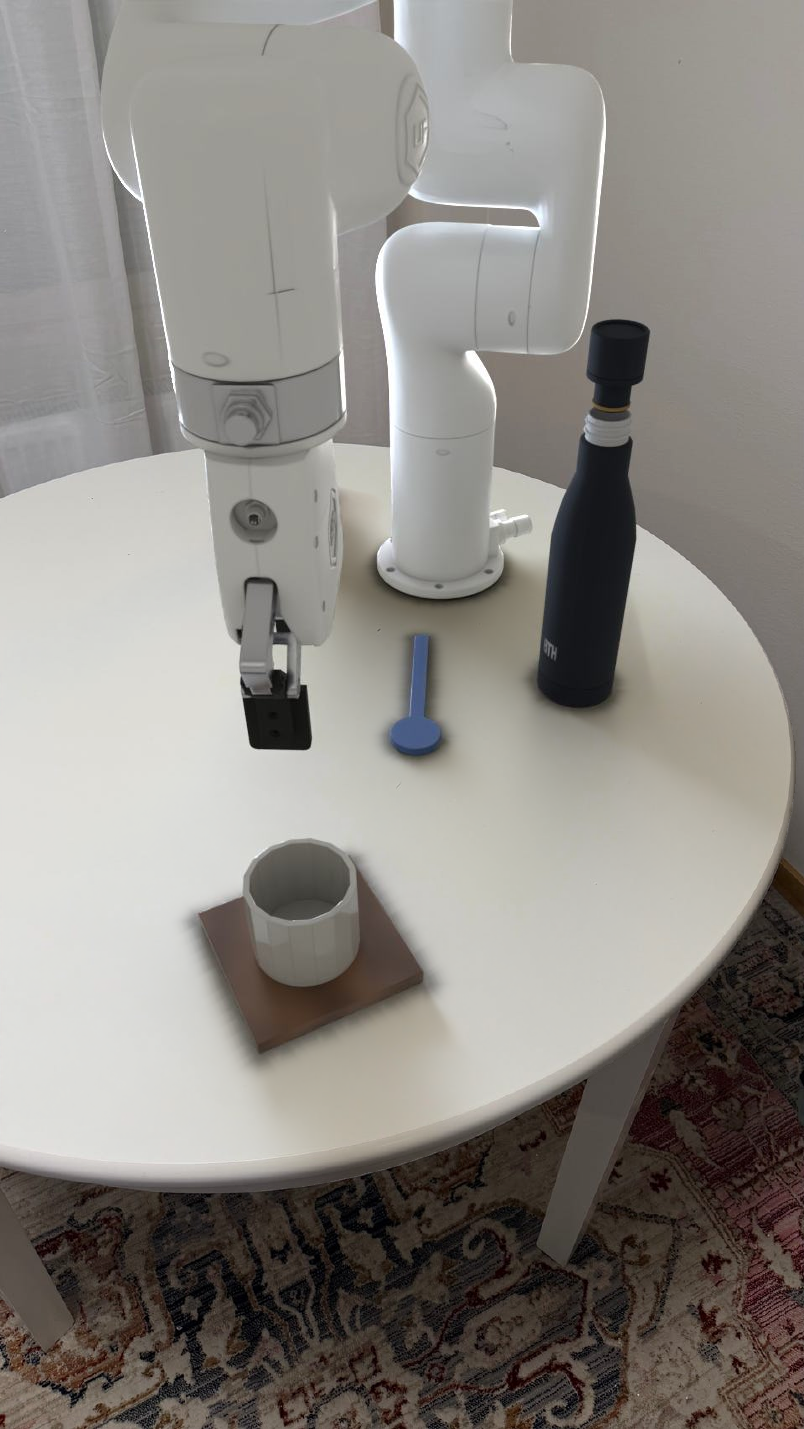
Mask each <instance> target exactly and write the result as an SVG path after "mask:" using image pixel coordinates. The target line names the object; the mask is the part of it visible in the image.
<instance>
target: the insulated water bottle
mask: <svg viewBox="0 0 804 1429" xmlns="http://www.w3.org/2000/svg"><path fill="white" fill-rule="evenodd" d="M650 336H651V330H650V328H649V326H647V325H645V324H644V323H641V322H639V321H636V320H630V319H623V318H617V319H616V318H614V319H613V318H611V319H604V320H600V321H597V322H596V323H594V324H592V327H591V329H590V336H589V345H588V353H587V354H588V355H587V363H586V371H585V376H586V379H588V380H589V381H590V382H592V383H594V390H593V391H594V392H593V396H592V399H591V405H592V406H591V407H590V408H589V409H588V411H587V415H585V417H584V423H585V425H584V427H583V433H582V434H581V435H580V436H579V443H578V451H577V459H576V467H575V468H576V469H575V472H574V474H573V476H572V478H571V481H570V482H569V484H568V486H567V488H566V490H565V491H564V492H565V493H564V494H563V497H562V499H561V502H560V504H559V507H558V511H557V513H556V517H555V520H554V523H553V527H552V530H551V533H550V544H549V552H548V565H547V574H546V584H545V595H544V603H543V604H544V605H543V614H542V623H541V624H542V625H541V634H540V643H539V653H538V663H537V664H538V665H537V672H536V674H537V675H536V683H537V688H538V689H539V691H540V692H541V693H542V695H543V696H544V697H546V698H547V699H548V700H550V701H551V702H553V703H555V704H558V705H561V706H566V707H571V708H588V707H592V706H596V705H599V704H600V703H602V702H604V701H606V700H607V699H608V697H609V696H610V695H611V694H612V692H613V687H614V679H615V674H616V668H617V661H618V656H619V649H620V644H621V638H622V630H623V624H624V619H625V612H626V606H627V601H628V594H629V588H630V583H631V582H630V581H631V575H632V571H633V570H632V569H633V564H634V563H633V562H634V556H635V552H636V545H637V538H638V537H637V516H636V515H637V514H636V506H635V501H634V496H633V491H632V487H631V486H632V485H631V482H630V476H629V472H630V466H631V458H632V452H633V445H634V440H633V438H632V436H631V435H632V432H633V430H632V426H633V423H634V421H633V418H632V411H630V410H629V409H630V407H631V404H632V401H631V397H632V389H633V386H636V385H638V384H640V383H641V382H643V380H644V376H645V369H646V363H647V356H648V350H649V343H650Z"/></svg>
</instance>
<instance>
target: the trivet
mask: <svg viewBox="0 0 804 1429" xmlns="http://www.w3.org/2000/svg"><path fill="white" fill-rule="evenodd" d="M347 855H348V857H349V858H350V860H351V861H352V863H353V864H354V866H355V868H356V879H357V896H358V913H359V930H360V945H359V950H358V953H357V955H356V957H355V959H354V961H353V962H352V964H351V965H350V966H349V967H348V968H347V969H346V970H345V971H344V972H343V973H342V974H341V975H339V976H338V977H336V978H334V979H332V980H330V981H328V982H326V983H323V984H319V985H315V986H308V987H297V986H290V985H286V984H283V983H280V982H278V981H276V980H274V979H272V978H271V977H269V976H268V975H267V974H266V973H265V972H264V971H263V970H262V969H261V968H260V966H259V965H258V963H257V961H256V958H255V955H254V952H253V950H252V944H251V939H250V933H249V927H248V921H247V915H246V910H245V904H244V898H243V895H240V896H237V897H236V898H233V899H230V900H228V901H225V902H222V903H220V904H217V905H214V906H212V907H210V908H206V909H204V910H201V911H199V912H198V913H197V915H198V919H199V923H200V925H201V928H202V929H203V932H204V934H205V937H206V939H207V940H208V943H209V945H210V947H211V950H212V952H213V954H214V957H215V958H216V961H217V963H218V965H219V967H220V970H221V972H222V975H223V977H224V979H225V981H226V983H227V985H228V988H229V990H230V993H231V995H232V997H233V999H234V1001H235V1003H236V1006H237V1008H238V1011H239V1012H240V1014H241V1017H242V1019H243V1021H244V1024H245V1026H246V1028H247V1030H248V1033H249V1035H250V1037H251V1040H252V1042H253V1044H254V1046H255V1049H256V1050H257V1052H258V1054H260V1055H261V1054H263V1053H265V1052H268V1051H270V1050H272V1049H274V1048H276V1047H278V1046H281V1045H284V1044H285V1043H288V1042H290V1041H292V1040H295V1039H297V1038H299V1037H301V1036H303V1035H305V1034H308V1033H311V1032H312V1031H315V1030H317V1029H319V1028H321V1027H324V1026H326V1025H328V1024H330V1023H333V1022H335V1021H338V1020H340V1019H342V1018H344V1017H346V1016H348V1015H351V1014H353V1013H356V1012H358V1011H360V1010H362V1009H364V1008H366V1007H368V1006H371V1005H374V1004H376V1003H378V1002H380V1001H382V1000H384V999H387V998H389V997H392V996H395V995H396V994H398V993H400V992H403V991H406V990H407V989H409V988H412V987H414V986H416V985H419V984H421V983H423V982H424V971H423V969H422V967H421V966H420V964H419V963H418V960H416V958H415V956H414V954H413V953H412V951H411V950H410V948H409V947H408V945H407V944H406V942H405V940H404V939H403V937H402V935H401V934H400V932H399V931H398V929H397V928H396V926H395V924H394V923H393V921H392V920H391V918H390V917H389V915H388V914H387V911H386V910H385V909H384V907H383V905H382V904H381V902H380V901H379V899H378V898H377V896H376V894H375V893H374V891H373V889H372V887H370V885H369V883H368V882H367V881H366V879H365V877H364V875H363V873H362V872H361V870H360V869H359V867H358V866H357V863H355V861H354V860H353V857H352V856H351V855H350V854H347Z"/></svg>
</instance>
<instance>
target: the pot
mask: <svg viewBox="0 0 804 1429" xmlns="http://www.w3.org/2000/svg"><path fill="white" fill-rule="evenodd" d="M348 855H349V854H347V852H345V851H344V850H343V849H341V848H339V847H338V846H336V845H335V844H333V843H332V842H329V841H325V840H320V839H316V838H311V837H306V838H291V839H290V838H289V839H286V840H284V841H281V842H278V843H275V844H272V845H270V846H268V847H267V848H265V849H264V850H262V852H260V853H259V854H257V856H255V857H254V858H252V860H251V862H250V863H249V865H248V867H247V869H246V870H245V872H244V874H243V876H242V877H243V878H242V896H243V898H244V904H245V910H246V915H247V921H248V927H249V933H250V939H251V944H252V950H253V952H254V955H255V958H256V961H257V963H258V965H259V966H260V968H261V969H262V970H263V971H264V972H265V973H266V974H267V975H268V976H269V977H271V978H272V979H274V980H276V981H278V982H280V983H283V984H286V985H290V986H297V987H308V986H315V985H319V984H323V983H326V982H328V981H330V980H332V979H334V978H336V977H338V976H339V975H341V974H342V973H343V972H344V971H345V970H346V969H347V968H348V967H349V966H350V965H351V964H352V962H353V961H354V959H355V957H356V955H357V953H358V950H359V945H360V930H359V913H358V896H357V879H356V868H355V866H354V864H353V863H352V861H351V860H350V858H349V857H348Z"/></svg>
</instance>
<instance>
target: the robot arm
mask: <svg viewBox="0 0 804 1429" xmlns="http://www.w3.org/2000/svg"><path fill="white" fill-rule="evenodd" d="M377 1H378V0H122V2H121V5H120V8H119V11H118V14H117V17H116V20H115V22H114V26H113V28H112V31H111V34H110V38H109V41H108V46H107V51H106V55H105V59H104V63H103V68H102V76H101V86H100V124H101V132H102V136H103V141H104V145H105V150H106V154H107V156H108V159H109V162H110V164H111V166H112V168H113V170H114V172H115V173H116V175H117V177H118V179H119V180H120V181H121V183H122V185H123V186H124V187H125V188H126V189H127V190H128V191H129V192H130V193H131V194H132V195H133V197H135V198H136V199H137V200H139V201H140V202H142V204H143V210H144V216H145V222H146V228H147V233H148V239H149V240H148V241H149V246H150V250H151V257H152V262H153V269H154V274H155V280H156V286H157V292H158V298H159V303H160V309H161V310H160V311H161V317H162V323H163V328H164V333H165V339H166V346H167V351H168V352H167V353H168V360H169V367H170V371H171V378H172V383H173V389H174V397H175V402H176V407H177V413H178V414H177V415H178V420H179V426H180V427H179V428H180V432H181V433H182V436H183V437H184V438H185V439H186V441H187V442H189V443H190V444H191V445H193V446H194V447H196V448H198V449H200V450H202V451H203V455H204V465H205V478H206V490H207V491H206V499H207V500H208V511H209V521H210V529H211V538H212V546H213V554H214V563H215V570H216V577H217V583H218V585H217V586H218V592H219V596H220V604H221V609H222V615H223V619H224V623H225V628H226V631H227V634H228V636H229V638H230V639H231V640H232V641H233V642H234V643H235V644H237V645H238V646H240V651H239V662H238V669H239V675H240V679H239V686H240V695H241V698H242V705H243V711H244V717H245V718H244V719H245V725H246V730H247V737H248V743H249V746H250V747H251V748H252V749H254V750H263V751H265V750H266V751H267V750H272V751H308V750H309V749H311V748H312V744H313V743H312V742H313V733H312V724H311V722H312V721H311V711H310V700H309V691H308V684H302V683H301V682H302V681H301V679H302V678H301V677H302V675H301V674H302V672H301V671H302V646H313V647H315V648H316V647H320V646H322V645H323V644H324V643H325V642H326V641H327V640H328V639H329V637H330V635H331V633H332V632H331V631H332V628H333V621H334V618H335V612H336V611H335V610H336V605H337V600H338V595H339V594H338V593H339V588H340V581H341V577H342V576H341V575H342V568H343V560H344V536H343V535H344V534H343V525H342V517H341V516H342V515H341V507H340V499H339V497H340V496H339V487H338V477H337V469H336V468H337V466H336V458H335V448H334V439H333V438H335V437H336V436H337V435H338V434H339V433H341V431H342V430H343V429H344V427H345V426H346V423H347V419H348V414H347V411H348V410H347V394H346V393H347V392H346V391H347V389H346V374H345V373H346V372H345V371H346V370H345V353H344V352H345V351H344V338H343V337H344V336H343V318H342V300H341V282H340V281H341V280H340V264H339V263H340V262H339V248H338V247H339V246H338V237H340V236H344V235H345V234H348V233H350V232H354V231H356V230H360V229H362V228H365V227H368V226H370V225H373V224H375V223H378V222H380V221H381V220H383V219H384V218H386V217H387V216H389V215H390V214H391V213H392V212H394V211H395V210H396V209H397V208H398V207H399V206H400V205H401V204H402V202H403V201H404V200H405V199H406V197H407V196H408V195H409V196H411V197H412V198H414V199H416V200H420V201H423V202H427V203H432V204H438V205H446V206H461V207H477V208H479V207H480V208H496V209H497V208H499V209H519V210H527V211H529V212H531V213H532V214H533V215H534V216H535V218H536V219H537V222H538V225H539V227H537V226H536V227H535V226H518V225H517V226H515V225H514V226H513V225H496V224H495V225H493V224H491V223H473V222H472V223H471V222H452V221H451V222H450V221H426V222H420V223H413V224H411V225H407V226H405V227H402V228H400V229H398V230H397V231H395V232H394V233H392V234H391V236H390V237H388V238H387V239H386V241H385V242H384V244H383V246H382V247H381V249H380V251H379V254H378V258H377V262H376V268H375V289H376V297H377V304H378V310H379V314H380V321H381V325H382V330H383V338H384V344H385V351H386V358H387V359H386V360H387V372H388V391H389V393H388V394H389V441H390V442H389V443H390V444H389V449H390V450H389V452H390V499H391V500H390V502H391V503H390V505H391V506H390V507H391V536H390V537H389V538H387V539H386V540H385V541H384V542H383V543H382V544H381V545H380V547H379V549H378V551H377V554H376V565H377V566H376V567H377V568H376V569H377V571H378V574H379V576H380V577H381V579H383V581H384V582H385V583H386V584H388V585H389V586H390V587H392V588H393V589H396V590H398V591H399V592H401V593H403V594H407V595H410V596H414V597H417V598H424V599H431V600H432V599H433V600H450V599H459V598H465V597H468V596H471V595H475V594H478V593H480V592H482V591H485V590H486V589H488V588H489V587H491V586H492V585H493V584H495V583H496V582H497V581H498V580H499V578H500V577H501V576H502V574H503V570H504V560H505V557H504V552H503V550H502V549H501V547H500V546H501V545H504V544H506V542H507V540H509V539H512V538H518V537H522V536H526V535H528V534H531V533H532V531H533V522H532V520H531V518H530V516H528V515H527V514H523V515H519V516H515V517H511V518H509V519H508V514H507V512H506V510H505V509H499V510H495V511H491V510H492V492H493V490H492V489H493V471H494V470H493V469H494V454H495V453H494V452H495V451H494V450H495V431H496V417H497V396H496V392H495V387H494V384H493V381H492V379H491V377H490V374H489V373H488V371H487V369H486V367H485V366H484V364H483V362H482V361H481V359H480V357H479V356H478V354H477V353H476V352H481V351H482V352H483V351H484V352H495V353H497V352H498V353H507V354H508V353H509V354H525V355H547V356H548V355H549V356H551V355H558V354H562V353H565V352H567V351H569V350H571V349H572V348H573V347H574V346H575V345H576V344H577V342H578V341H579V340H580V338H581V336H582V333H583V331H584V328H585V324H586V320H587V316H588V311H589V305H590V298H591V289H592V281H593V269H594V262H595V261H594V259H595V250H596V240H597V230H598V221H599V211H600V202H601V201H600V200H601V190H602V183H603V182H602V181H603V171H604V162H605V161H604V160H605V146H606V145H605V144H606V125H607V124H606V122H607V121H606V120H607V119H606V106H605V100H604V97H603V96H604V95H603V91H602V88H601V86H600V84H599V82H598V80H597V79H596V77H595V76H594V75H592V74H591V73H590V72H589V71H587V70H586V69H584V68H582V67H579V66H574V65H570V64H565V63H563V64H562V63H541V62H540V63H533V62H532V63H531V62H516V61H515V60H514V59H513V57H512V56H513V55H512V49H511V48H512V47H511V41H512V22H513V21H512V20H513V3H514V0H393V27H394V29H393V37H394V38H392V37H390V36H389V35H386V34H385V33H382V32H380V31H377V30H373V29H370V28H366V27H359V26H350V25H329V24H328V25H326V24H325V25H320V24H319V25H317V24H318V23H322V22H325V21H328V20H331V19H334V18H337V17H339V16H343V15H346V14H348V13H351V12H354V11H356V10H358V9H360V8H363V7H365V6H368V5H371V4H372V3H375V2H377ZM274 646H275V647H277V646H278V647H286V672H285V671H284V670H282V669H279V668H278V669H277V668H275V662H274V658H273V657H274V656H273V647H274Z"/></svg>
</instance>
